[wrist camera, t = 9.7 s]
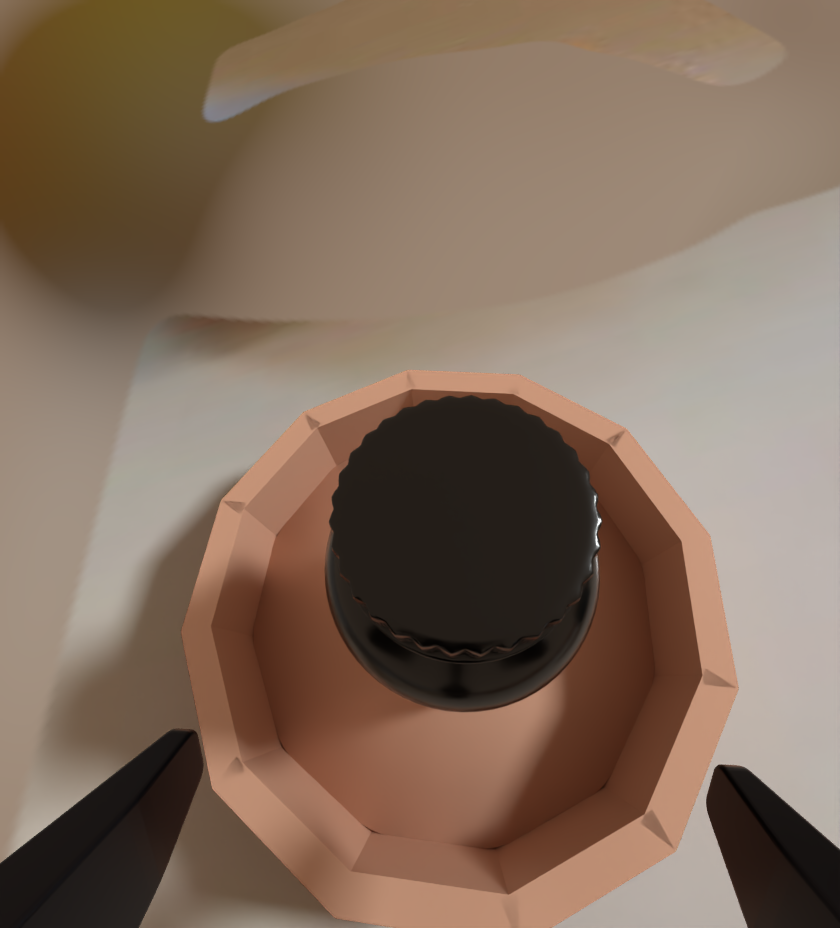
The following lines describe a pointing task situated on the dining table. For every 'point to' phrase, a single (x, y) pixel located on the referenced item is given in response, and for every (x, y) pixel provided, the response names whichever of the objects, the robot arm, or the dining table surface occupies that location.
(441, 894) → the terracotta bowl
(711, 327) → the dining table surface
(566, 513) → the supplement bottle
